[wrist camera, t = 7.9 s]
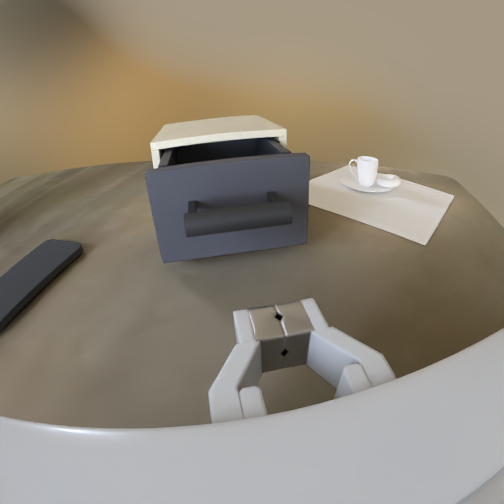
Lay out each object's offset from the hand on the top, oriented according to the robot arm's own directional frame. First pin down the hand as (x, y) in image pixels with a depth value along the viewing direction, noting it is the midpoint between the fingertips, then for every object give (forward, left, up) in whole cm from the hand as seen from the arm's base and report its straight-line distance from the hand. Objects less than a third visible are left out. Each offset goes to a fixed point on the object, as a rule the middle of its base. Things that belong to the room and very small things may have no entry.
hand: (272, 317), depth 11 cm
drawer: (0, +19, -6) cm, 19 cm away
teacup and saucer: (+21, +26, -7) cm, 34 cm away
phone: (-22, +14, -6) cm, 27 cm away
